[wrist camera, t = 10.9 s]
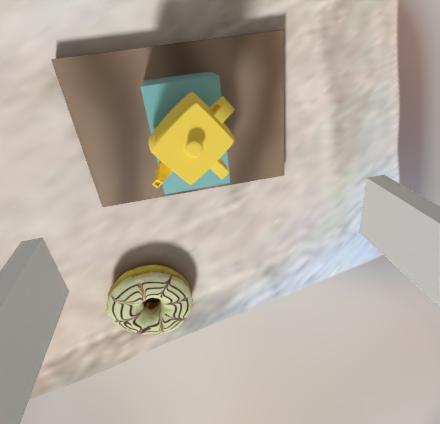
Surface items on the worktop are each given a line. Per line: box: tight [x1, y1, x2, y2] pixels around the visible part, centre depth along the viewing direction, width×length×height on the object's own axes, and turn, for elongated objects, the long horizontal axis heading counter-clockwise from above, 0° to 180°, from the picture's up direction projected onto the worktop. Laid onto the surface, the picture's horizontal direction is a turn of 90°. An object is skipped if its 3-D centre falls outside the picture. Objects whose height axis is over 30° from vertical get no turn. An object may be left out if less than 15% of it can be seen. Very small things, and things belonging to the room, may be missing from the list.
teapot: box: [148, 92, 235, 188], centre depth 23 cm, size 8×6×5 cm
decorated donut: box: [106, 264, 193, 335], centre depth 38 cm, size 10×11×4 cm
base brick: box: [140, 71, 230, 194], centre depth 27 cm, size 6×9×5 cm, turn 6°
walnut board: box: [51, 30, 284, 207], centre depth 30 cm, size 20×14×1 cm
